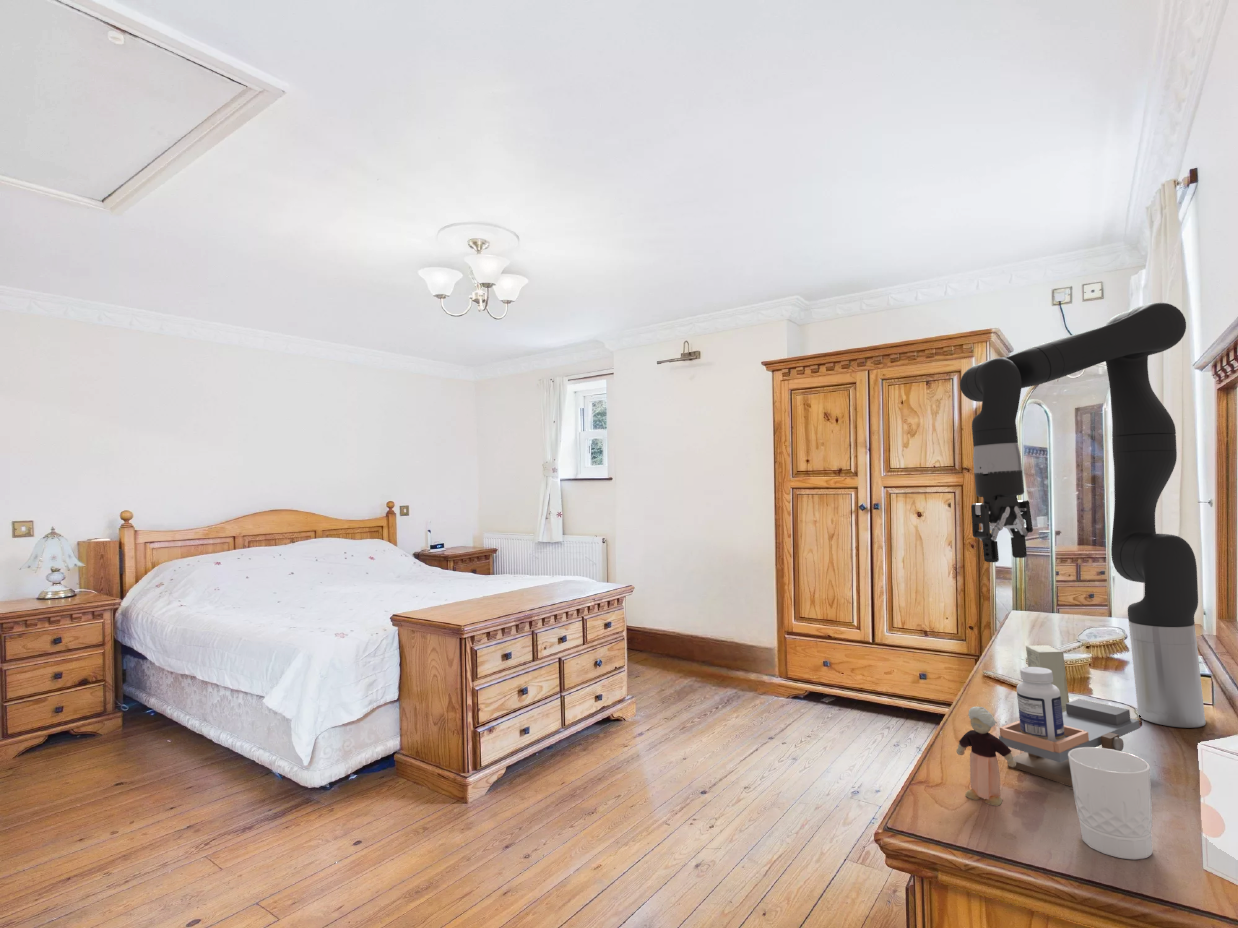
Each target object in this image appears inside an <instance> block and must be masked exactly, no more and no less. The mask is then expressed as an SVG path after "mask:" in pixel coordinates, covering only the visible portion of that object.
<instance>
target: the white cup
mask: <svg viewBox="0 0 1238 928" xmlns="http://www.w3.org/2000/svg"><path fill="white" fill-rule="evenodd" d="M1068 758H1069V765H1070V771H1071V778H1072V785H1073V787H1072V790H1073V798H1074V803H1075V807H1076V815H1077V817H1078V821H1079V825H1080V833H1081V838H1082V839H1081V840H1082V841H1083V842H1084V844H1086V845H1087V846H1089V847H1090V848H1091V849H1093V850H1094V851H1097V852H1099V853H1102V854H1104V855H1107V856H1112V857H1115V858H1119V859H1123V860H1124V859H1126V860H1143V859H1147V858H1149V857H1150V856H1151V855H1152V854H1153V840H1152V828H1153V815H1152V814H1153V809H1152V807H1153V805H1152V804H1153V803H1152V785H1151V766H1150V764H1149V762H1147V761H1146V760H1145V759H1143V758H1141V757H1140V756H1137V755H1134V754H1132V753H1129V752H1125V751H1123V750H1122V751H1118V750H1113V749H1107V748H1102V747H1082V748H1076V749H1072V750H1070V751H1069V752H1068Z"/></svg>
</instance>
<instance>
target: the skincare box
mask: <svg viewBox="0 0 1238 928" xmlns="http://www.w3.org/2000/svg"><path fill="white" fill-rule="evenodd" d="M1025 650H1026V660H1027V667H1041V668H1046V669H1049V670H1051V671H1052V674H1053V682H1051V683H1052V684H1053V685H1055V686H1056V687H1057V688H1058V689H1059V691H1060V696H1061V705H1062V713H1063V712H1065V711H1066V703H1069V702H1070V699H1069V698H1070V697H1069V690H1068V682H1067V674H1066V666H1065V657H1064V656H1065V655H1064V651H1063V650H1061V649H1058V648H1057V647H1055V646H1052V645H1049V644H1046V645H1045V644H1044V645H1042V644H1041V645H1039V644H1038V645H1025Z"/></svg>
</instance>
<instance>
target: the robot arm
mask: <svg viewBox="0 0 1238 928" xmlns="http://www.w3.org/2000/svg"><path fill="white" fill-rule="evenodd" d="M1186 330H1187V320H1186V318H1185V315H1184V313H1183V312H1182V311H1181V310H1180V309H1179V308H1178V307H1177V306H1175V305H1173V304H1170V303H1167V302H1162V301H1161V302H1150V303H1146V304H1142V305H1140V306H1138V307H1134V308H1132V309H1130V310H1129V309H1128V310H1126V311H1124V312H1121V313H1119V314H1116V315H1114V316H1112V317H1111V318H1110V319H1109V320H1108V321H1107V322H1106V324H1105V325H1102V326H1101V327H1097V328H1094V329H1090V330H1087V331H1084V332H1080V333H1077V334H1076V333H1075V334H1072V335H1069V336H1065V337H1060V338H1057V339H1053V340H1050V341H1046V342H1044V343H1041V344H1037V345H1034V346H1030V347H1028V348H1025V349H1023V350H1020V351H1018V352H1016V353H1014V354H1011V355H1007V356H1006V357H1005V356H1004V357H996V358H995V357H994V358H992V359H988V360H986V361H983V362H981V363H977V364H976V365H973V366H971V367H970V368H968V369H967V370H965V372H964V373H963V374H962V376H961V379H960V382H959V388H960V391H961V393H962V394H963V396H964V397H965V398H967V399H968V400H970V401H973V402H976V403H977V402H978V403H981V410H980V412H979V413H978V414H977V415H975V416H974V417H973V419H972V420H971V421H972V422H971V431H972V434H971V435H972V442H973V455H972V456H973V457H972V461H973V472H974V482H975V483H974V484H975V494H976V496H977V497H978V498H982V503H972V504H971V505H970V508H971V512H970V513H971V526H972V527H971V528H972V536H973V538H975V539H976V538H977V539H979V540H980V541H982V542H981V543H982V549H983V551H982V553H983V559H984V562H986V563H998V562H999V560H1000V559H999V547H998V545H999V544H998V541H997V537H998V535H999V532H1000V531H1002V530H1003V529H1004V528H1005V529H1007V531H1008V533H1009V534H1010V536H1011V537H1010V542H1011V555H1012V557H1013V558H1017V559H1024V558H1027V557H1028V552H1027V544H1026V537H1028V534H1029V533H1031V534H1032V533H1033V531H1034V529H1033V521H1032V520H1033V519H1032V513H1031V504H1030V501H1029V499H1025V500H1023V499H1022V500H1018V496H1022V495H1024V493H1025V488H1024V487H1025V486H1024V484H1025V483H1024V477H1023V476H1024V475H1023V465H1022V457H1021V456H1022V455H1021V451H1020V448H1019V442H1018V441H1019V440H1018V431H1017V430H1018V429H1017V421H1016V420H1017V416H1018V411H1019V406H1020V399H1021V394H1022V393H1021V392H1022V389H1025V388H1029V387H1034V386H1040V385H1043V384H1046V383H1048V382H1052V381H1055V380H1058V379H1061V378H1063V377H1066V376H1069V375H1073V374H1075V373H1078V372H1080V371H1083V370H1085V369H1088V368H1091V367H1094V366H1097V365H1100V364H1101V363H1102V364H1103V363H1104V362H1105V364H1106V365H1105V366H1106V371H1107V378H1108V384H1109V394H1110V408H1111V410H1110V411H1111V422H1112V423H1111V424H1112V426H1111V427H1112V431H1111V432H1112V433H1111V437H1112V442H1111V443H1112V459H1113V472H1114V473H1113V475H1114V476H1113V477H1114V478H1113V479H1114V480H1113V483H1114V484H1113V485H1114V507H1113V508H1114V510H1113V523H1112V524H1113V525H1112V536H1111V546H1110V547H1111V548H1110V550H1111V551H1110V553H1111V561H1112V562H1111V563H1112V564H1113V568H1114V569H1115V571H1116V572H1117V573H1118V575H1120V576H1121V577H1122V578H1123V579H1125V580H1128V581H1131V582H1136V583H1143V584H1144V594H1143V598H1141V600H1140V601H1136V602H1134V603H1130V604H1129V605H1128V607H1127V618H1128V629H1129V637H1130V639H1129V640H1130V649H1131V657H1132V658H1131V659H1132V665H1133V667H1132V669H1133V676H1134V687H1135V695H1136V704H1137V705H1136V707H1137V714H1139V715H1140V716H1141V717H1140V718H1141V719H1142V720H1145V721H1146V722H1150V723H1152V724H1156V725H1163V726H1167V727H1173V728H1185V729H1186V728H1188V729H1189V728H1201V727H1204V726H1205V725H1206V716H1205V707H1204V697H1203V695H1204V694H1203V688H1202V687H1203V685H1202V680H1201V679H1202V677H1201V676H1202V675H1201V668H1200V661H1199V658H1200V657H1199V651H1198V642H1197V634H1196V632H1197V631H1196V626H1195V625H1196V624H1195V615H1196V612H1197V609H1198V606H1199V589H1198V587H1199V586H1198V567H1197V560H1196V559H1197V558H1196V555H1195V553H1194V551H1193V548H1192V547H1191V545H1190V544H1189V543H1188V541H1187V540H1185V539H1184V538H1183V537H1181V536H1179V535H1175V534H1167V533H1157V531H1156V511H1157V509H1156V508H1157V506H1158V505H1157V504H1158V501H1159V499H1160V496H1161V494H1162V492H1163V490H1164V488H1165V487H1166V485H1167V484H1168V482H1169V480H1170V478H1171V476H1172V474H1173V472H1174V469H1175V467H1176V463H1177V456H1178V453H1177V450H1178V449H1177V431H1176V425H1175V422H1174V419H1173V418H1172V416H1171V414H1170V413H1169V411H1168V410H1167V409H1166V407H1165V405H1163V403H1162V402H1161V400H1160V399H1159V397H1158V396H1157V395H1156V394H1155V392H1154V390H1153V388H1152V385H1151V381H1150V377H1149V361H1148V360H1149V356H1152V355H1155V354H1159V353H1162V352H1164V351H1167V350H1170V349H1171V348H1173V347H1174V346H1176V345H1178V344H1179V342H1180V341H1181V340H1182V339H1183V338H1184V336H1185V333H1186ZM980 528H981V529H980Z"/></svg>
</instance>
